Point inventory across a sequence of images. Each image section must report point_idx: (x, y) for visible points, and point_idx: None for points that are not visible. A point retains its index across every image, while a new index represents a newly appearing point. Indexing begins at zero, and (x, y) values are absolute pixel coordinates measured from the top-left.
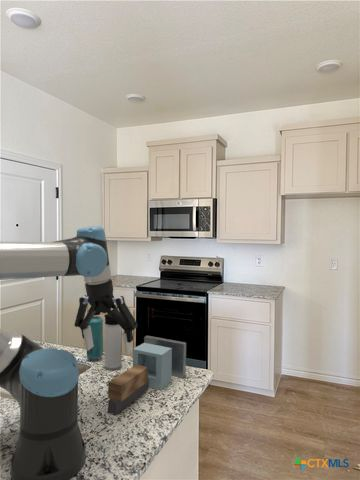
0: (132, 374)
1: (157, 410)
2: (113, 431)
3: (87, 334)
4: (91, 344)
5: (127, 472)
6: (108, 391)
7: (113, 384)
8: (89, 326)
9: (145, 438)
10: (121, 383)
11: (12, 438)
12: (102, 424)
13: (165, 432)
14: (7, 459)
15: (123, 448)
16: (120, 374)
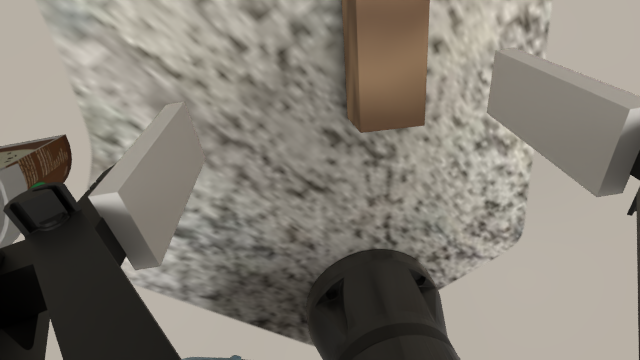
0: (408, 7)
1: (479, 18)
2: (417, 174)
3: (166, 208)
4: (185, 131)
5: (510, 243)
6: (353, 123)
7: (385, 128)
8: (110, 198)
9: (501, 151)
10: (414, 110)
11: (240, 308)
12: (374, 169)
13: None
14: (295, 336)
15: (471, 203)
16: (357, 42)
